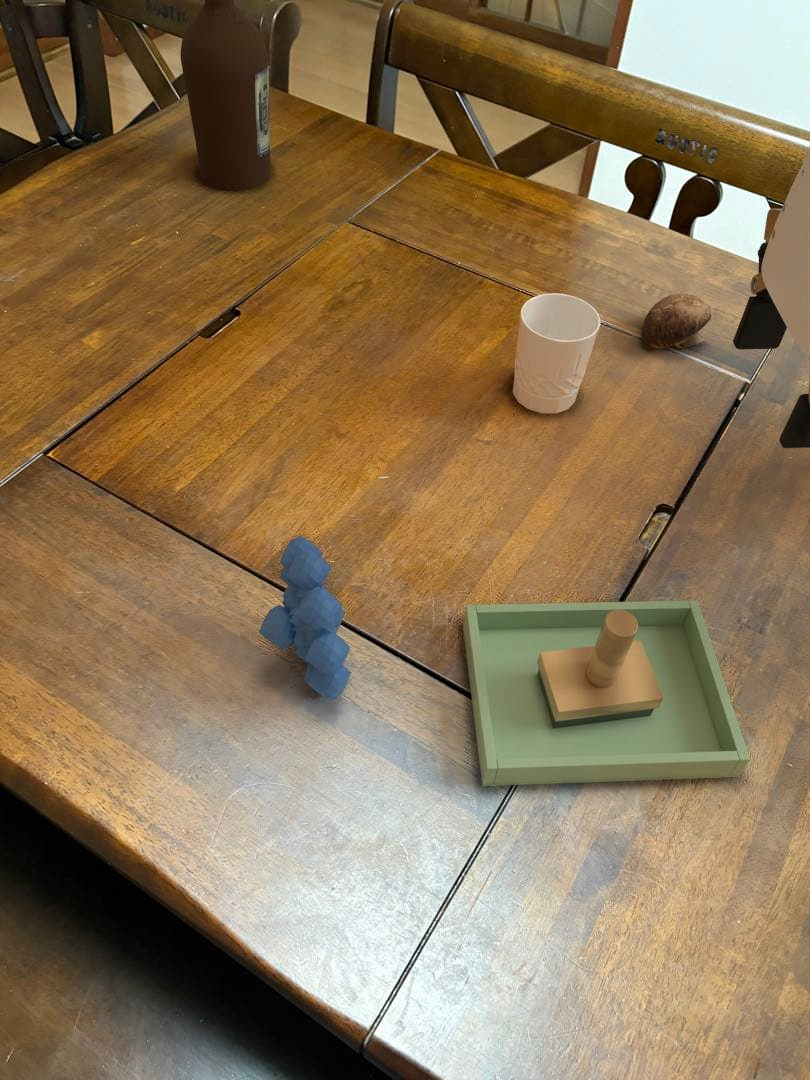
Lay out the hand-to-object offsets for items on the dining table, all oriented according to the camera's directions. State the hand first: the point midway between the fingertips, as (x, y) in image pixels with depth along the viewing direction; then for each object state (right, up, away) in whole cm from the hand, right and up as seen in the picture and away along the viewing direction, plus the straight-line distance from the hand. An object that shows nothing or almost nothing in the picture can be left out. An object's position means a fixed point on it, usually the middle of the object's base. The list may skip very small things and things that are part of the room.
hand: (777, 393), depth 61 cm
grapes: (-33, -20, +14) cm, 41 cm away
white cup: (-10, +6, +37) cm, 39 cm away
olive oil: (-48, +39, +63) cm, 88 cm away
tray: (-10, -23, +13) cm, 28 cm away
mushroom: (+5, +13, +44) cm, 46 cm away
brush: (-10, -22, +12) cm, 27 cm away
